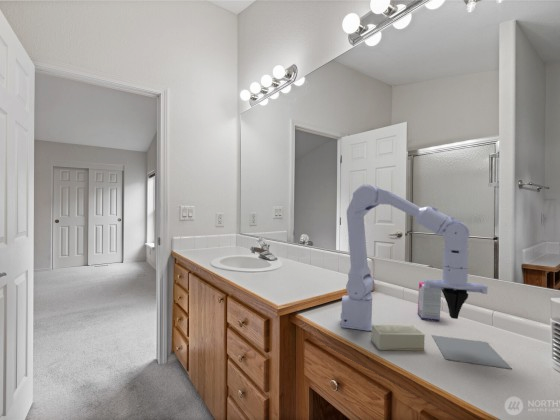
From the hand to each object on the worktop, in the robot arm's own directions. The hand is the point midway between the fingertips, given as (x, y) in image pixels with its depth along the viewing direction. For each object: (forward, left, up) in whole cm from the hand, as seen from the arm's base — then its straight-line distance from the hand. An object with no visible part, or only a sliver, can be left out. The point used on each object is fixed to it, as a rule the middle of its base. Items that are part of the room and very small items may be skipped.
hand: (453, 317), depth 77 cm
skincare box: (-8, -1, -6) cm, 10 cm away
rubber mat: (+3, 0, -8) cm, 9 cm away
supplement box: (-1, +23, -9) cm, 25 cm away
